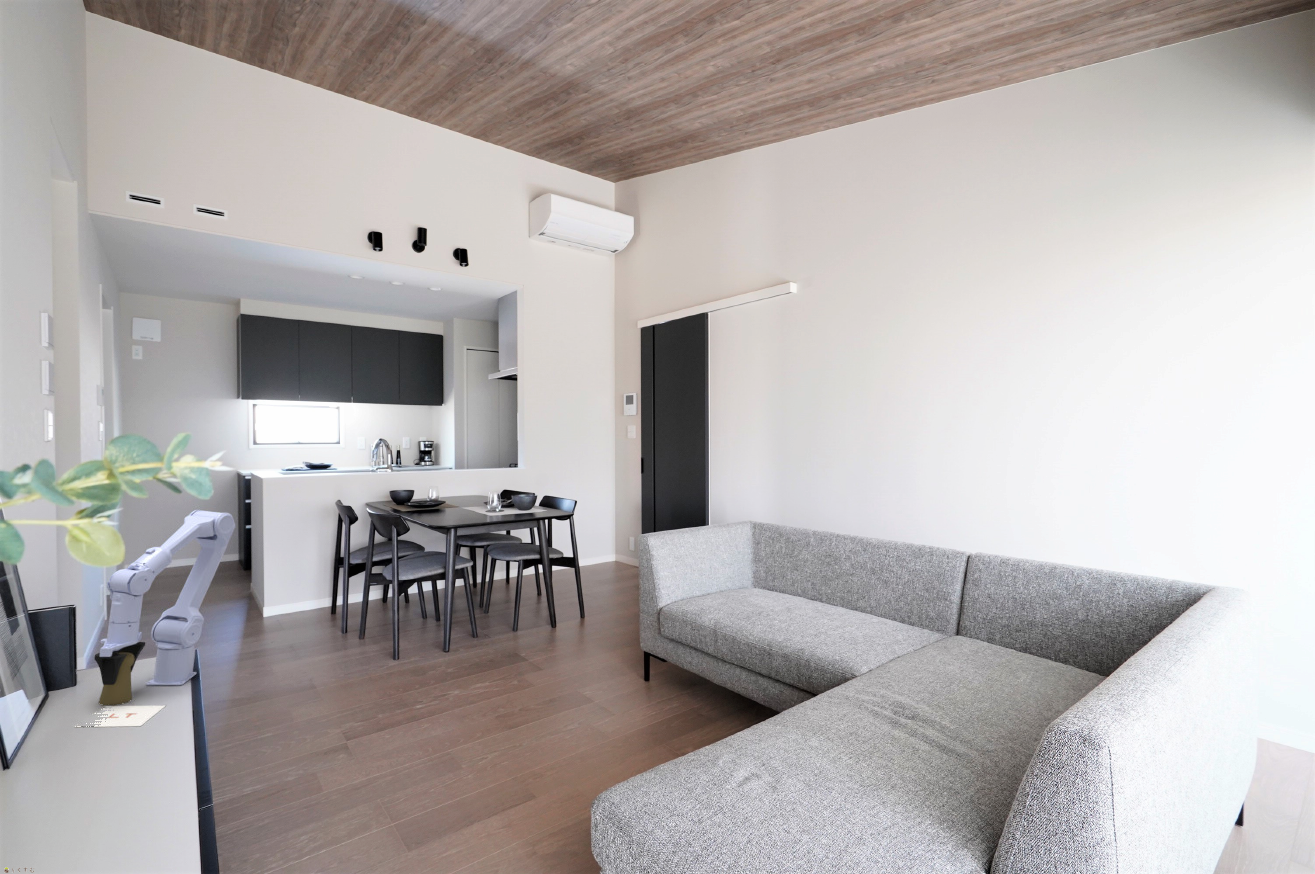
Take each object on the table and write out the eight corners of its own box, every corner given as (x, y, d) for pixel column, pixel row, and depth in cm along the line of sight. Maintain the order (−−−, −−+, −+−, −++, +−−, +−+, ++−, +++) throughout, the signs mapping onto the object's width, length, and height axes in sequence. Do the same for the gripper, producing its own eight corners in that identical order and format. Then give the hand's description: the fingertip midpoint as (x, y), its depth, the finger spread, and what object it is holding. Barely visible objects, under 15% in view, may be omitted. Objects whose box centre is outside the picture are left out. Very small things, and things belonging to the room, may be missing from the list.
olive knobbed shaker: (116, 706, 151) (122, 658, 151) (91, 704, 151) (97, 655, 152) (138, 697, 157) (144, 651, 157) (114, 695, 157) (120, 648, 158)
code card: (105, 706, 150) (105, 705, 150) (165, 706, 153) (165, 705, 153) (74, 727, 139) (74, 726, 139) (140, 726, 142) (140, 725, 142)
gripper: (120, 613, 161) (113, 669, 160) (87, 628, 147) (78, 689, 146) (154, 614, 163) (147, 669, 162) (124, 628, 149) (116, 689, 148)
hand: (117, 679), depth 154 cm, fingers open, 7 cm apart
